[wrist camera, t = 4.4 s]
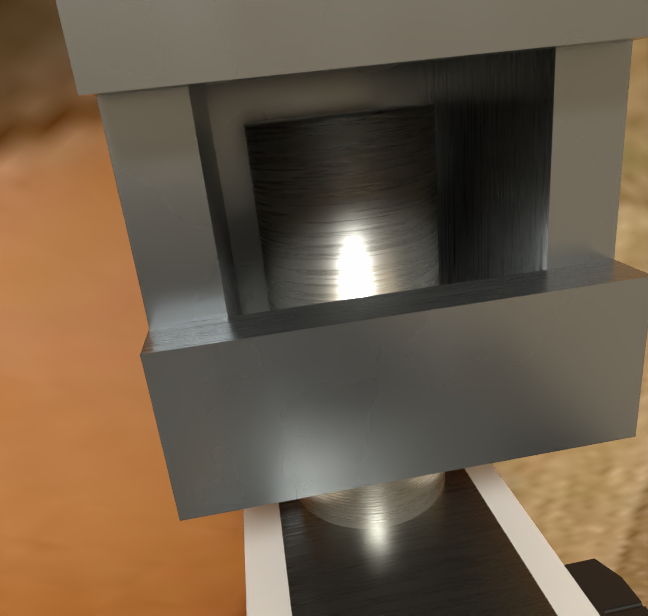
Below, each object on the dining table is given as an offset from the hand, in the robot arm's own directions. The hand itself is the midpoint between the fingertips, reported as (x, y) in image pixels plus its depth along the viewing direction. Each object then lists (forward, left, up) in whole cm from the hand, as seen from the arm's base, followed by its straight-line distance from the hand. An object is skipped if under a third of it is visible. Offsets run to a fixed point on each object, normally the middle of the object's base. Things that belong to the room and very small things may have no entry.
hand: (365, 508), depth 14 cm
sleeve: (0, +9, -2) cm, 9 cm away
